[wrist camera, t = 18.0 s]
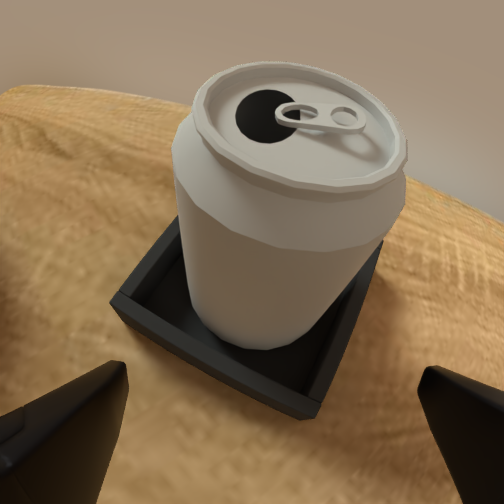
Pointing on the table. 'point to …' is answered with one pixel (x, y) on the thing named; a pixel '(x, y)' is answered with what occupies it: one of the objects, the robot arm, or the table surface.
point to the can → (282, 196)
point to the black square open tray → (229, 355)
